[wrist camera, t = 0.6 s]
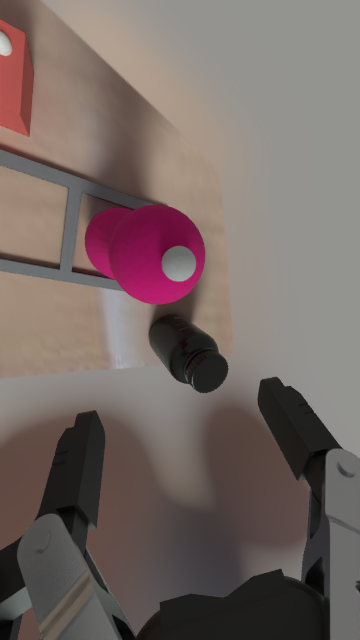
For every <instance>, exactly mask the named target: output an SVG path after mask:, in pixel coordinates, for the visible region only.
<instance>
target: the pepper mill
mask: <svg viewBox="0 0 360 640" xmlns="http://www.w3.org/2000/svg"><path fill="white" fill-rule="evenodd" d="M85 248H86V252H87V255H88V258H89V260H90V261H91V263H92V264H93V266H94V267H95V268H96V269H97V270H98V271H100V272H101V273H102V274H104V275H106V276H107V277H109V278H112V279H115V280H116V281H117V283H118V284H119V286H120V287H121V288H122V289H123V290H124V291H125V292H126V293H128V294H129V295H130V296H132V297H133V298H135V299H137V300H139V301H142V302H145V303H149V304H157V305H159V304H167V303H171V302H175V301H177V300H179V299H181V298H182V297H184V296H185V295H186V294H188V293H189V292H190V291H191V290H192V289H193V287H194V286H195V285H196V283H197V282H198V280H199V278H200V276H201V274H202V271H203V268H204V263H205V248H204V243H203V239H202V237H201V235H200V232H199V230H198V229H197V227H196V226H195V224H194V223H193V222H192V221H191V220H190V219H189V218H188V217H187V216H186V215H184V214H183V213H182V212H180V211H178V210H176V209H174V208H172V207H169V206H165V205H146V206H142V207H139V208H136V209H135V210H130V209H126V208H110V209H107V210H104V211H102V212H100V213H99V214H97V215H96V216H95V217H94V218H93V219H92V221H91V222H90V224H89V225H88V227H87V230H86V234H85Z"/></svg>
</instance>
